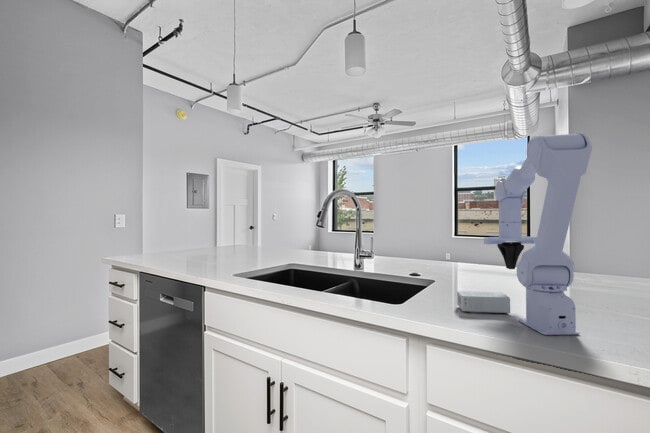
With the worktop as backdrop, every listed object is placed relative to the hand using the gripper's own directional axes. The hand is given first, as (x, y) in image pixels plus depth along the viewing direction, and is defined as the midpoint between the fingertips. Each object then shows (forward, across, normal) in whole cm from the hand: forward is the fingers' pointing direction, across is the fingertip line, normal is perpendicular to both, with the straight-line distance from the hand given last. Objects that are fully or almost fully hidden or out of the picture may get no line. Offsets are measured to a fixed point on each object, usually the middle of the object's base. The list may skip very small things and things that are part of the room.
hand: (510, 268), depth 91 cm
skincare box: (+8, +17, +4) cm, 19 cm away
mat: (+10, +10, +4) cm, 15 cm away
